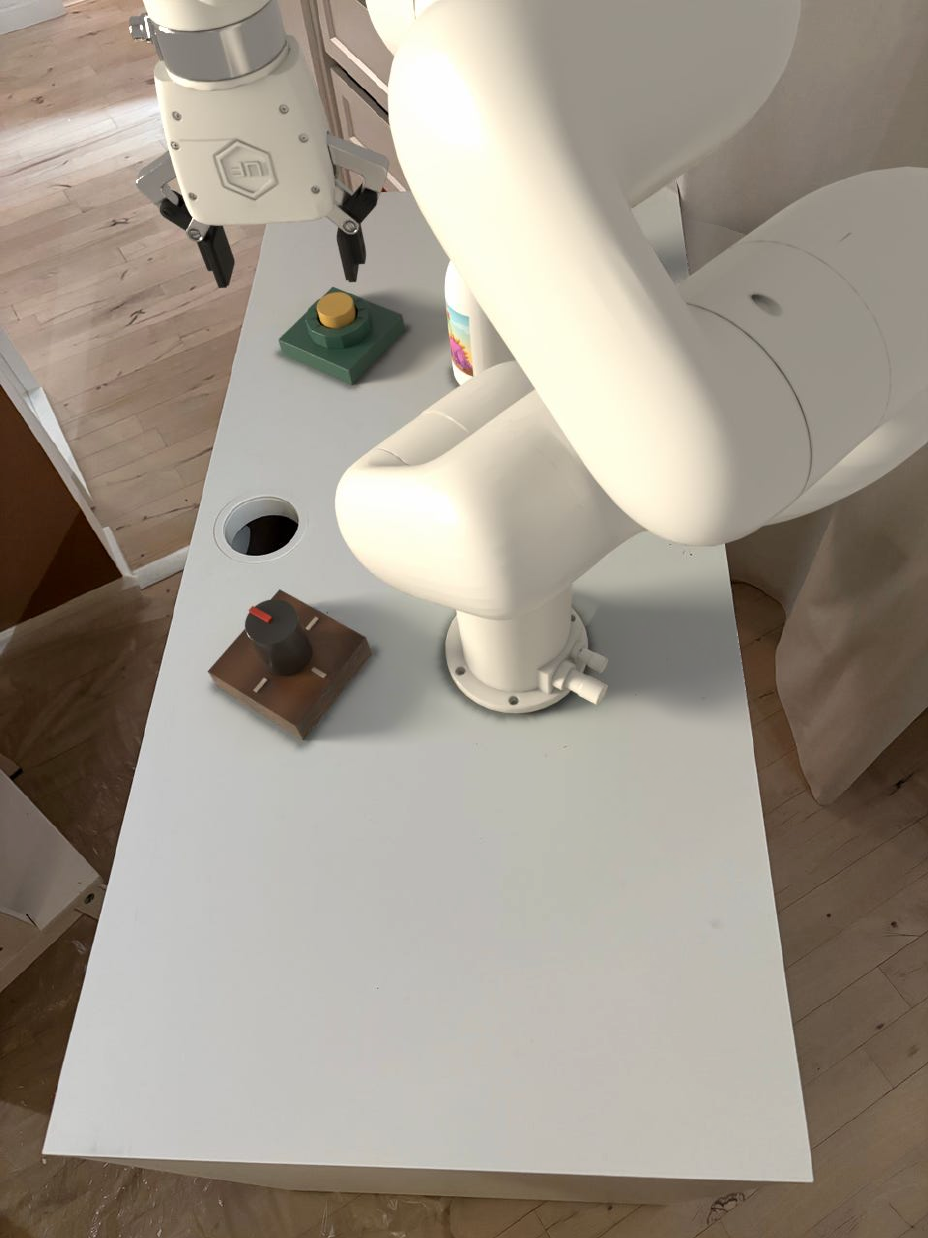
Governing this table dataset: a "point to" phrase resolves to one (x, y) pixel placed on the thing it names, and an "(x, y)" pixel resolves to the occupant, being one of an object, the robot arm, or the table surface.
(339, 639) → the dial base
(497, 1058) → the table surface
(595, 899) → the table surface
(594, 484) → the robot arm
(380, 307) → the button base
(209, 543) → the table surface
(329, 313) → the yellow button cap
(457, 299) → the milk bottle
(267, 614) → the dial
